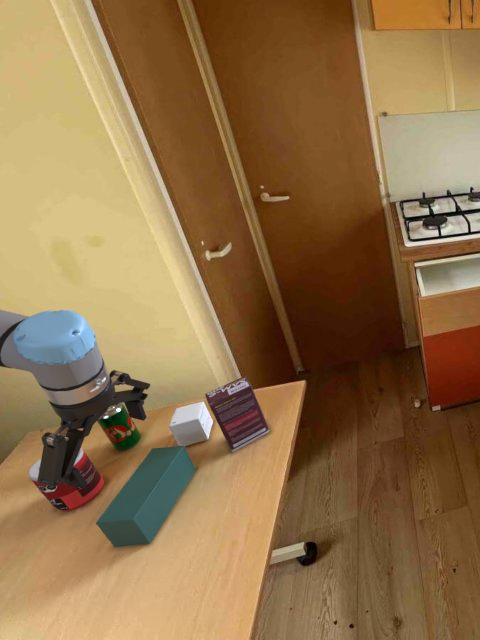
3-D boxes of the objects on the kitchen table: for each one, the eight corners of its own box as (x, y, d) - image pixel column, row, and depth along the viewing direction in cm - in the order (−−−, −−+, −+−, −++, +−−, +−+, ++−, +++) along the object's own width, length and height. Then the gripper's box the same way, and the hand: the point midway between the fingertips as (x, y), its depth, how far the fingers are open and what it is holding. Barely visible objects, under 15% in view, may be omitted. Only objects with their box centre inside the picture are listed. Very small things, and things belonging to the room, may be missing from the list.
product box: (208, 440, 102) (198, 418, 99) (179, 448, 100) (167, 427, 97) (213, 421, 107) (204, 400, 104) (185, 429, 105) (174, 408, 102)
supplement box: (264, 421, 108) (246, 374, 100) (270, 432, 104) (252, 385, 97) (225, 441, 102) (203, 393, 95) (231, 453, 99) (208, 405, 92)
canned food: (54, 496, 90) (26, 462, 85) (103, 471, 95) (80, 438, 90) (57, 521, 85) (28, 487, 80) (108, 493, 90) (84, 459, 85)
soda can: (129, 433, 104) (108, 398, 99) (147, 435, 104) (127, 400, 98) (109, 450, 100) (86, 414, 94) (128, 453, 99) (105, 417, 94)
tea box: (114, 547, 81) (95, 523, 77) (166, 471, 95) (152, 448, 91) (150, 544, 81) (133, 519, 78) (196, 469, 96) (184, 445, 92)
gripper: (26, 467, 60) (69, 523, 72) (161, 337, 80) (177, 399, 92) (-32, 453, 59) (22, 513, 71) (120, 325, 79) (141, 389, 91)
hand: (109, 448), depth 81 cm, fingers open, 13 cm apart
